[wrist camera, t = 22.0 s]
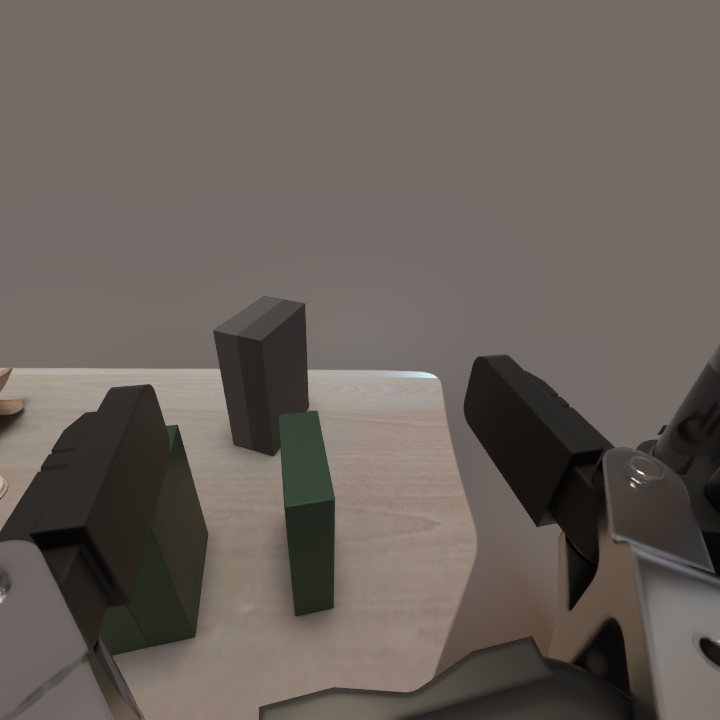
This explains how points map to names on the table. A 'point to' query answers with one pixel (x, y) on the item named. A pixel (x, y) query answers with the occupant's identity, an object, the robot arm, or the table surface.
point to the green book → (308, 511)
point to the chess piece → (3, 486)
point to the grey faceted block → (263, 370)
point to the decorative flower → (8, 405)
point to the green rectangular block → (165, 566)
